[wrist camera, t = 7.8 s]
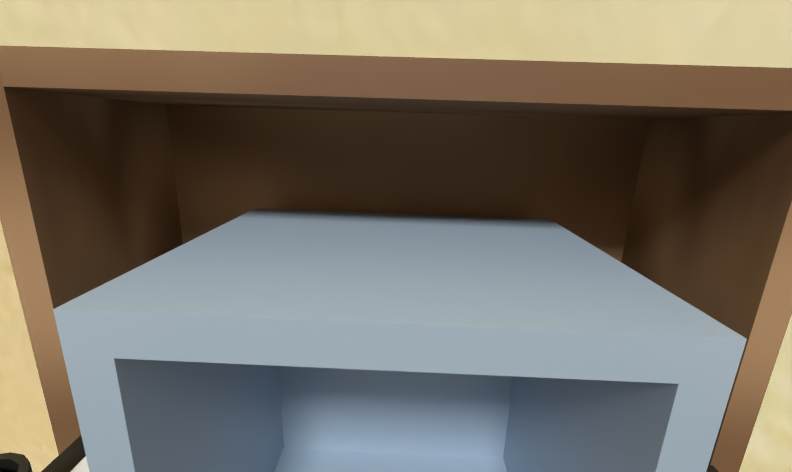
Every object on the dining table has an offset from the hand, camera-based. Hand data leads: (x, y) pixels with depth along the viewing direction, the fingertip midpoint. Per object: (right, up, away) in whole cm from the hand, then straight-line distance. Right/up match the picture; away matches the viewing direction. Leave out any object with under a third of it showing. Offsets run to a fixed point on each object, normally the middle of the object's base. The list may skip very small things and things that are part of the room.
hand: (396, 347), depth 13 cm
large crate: (0, +1, +2) cm, 2 cm away
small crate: (0, 0, 0) cm, 0 cm away
